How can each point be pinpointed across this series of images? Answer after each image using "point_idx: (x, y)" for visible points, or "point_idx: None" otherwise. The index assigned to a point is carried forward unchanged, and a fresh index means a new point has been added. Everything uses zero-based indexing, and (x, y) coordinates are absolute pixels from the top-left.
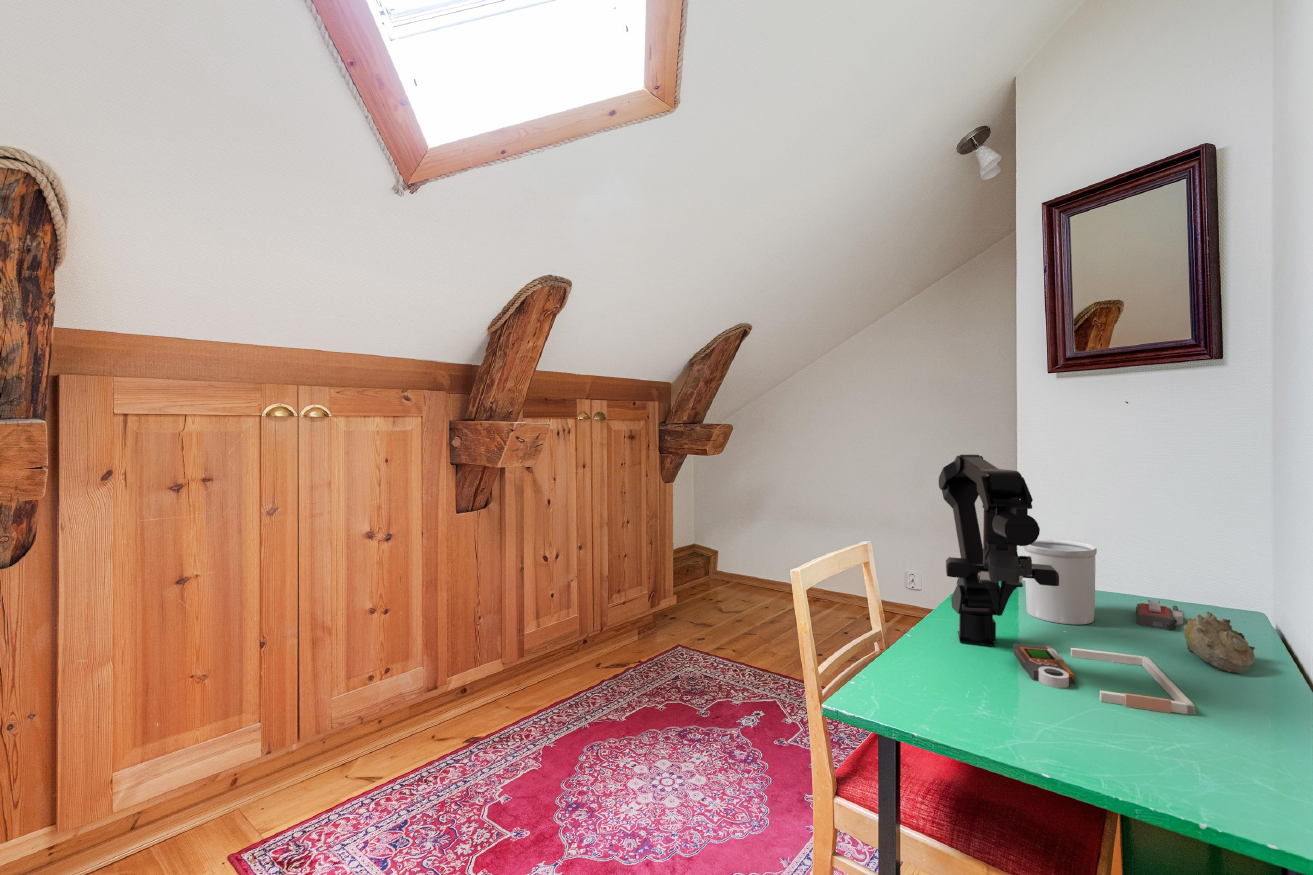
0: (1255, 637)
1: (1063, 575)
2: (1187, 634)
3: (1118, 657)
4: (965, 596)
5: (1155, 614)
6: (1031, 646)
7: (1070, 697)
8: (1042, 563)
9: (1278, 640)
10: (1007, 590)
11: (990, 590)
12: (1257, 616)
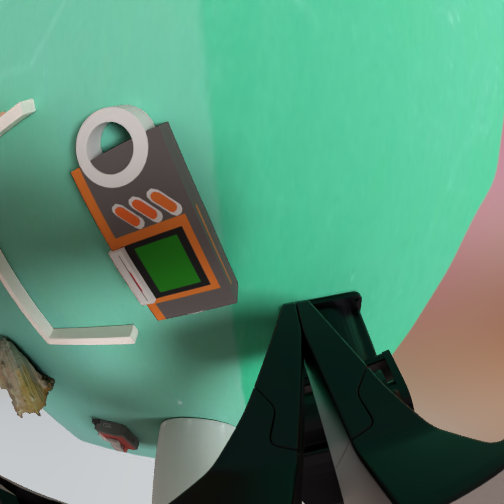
0: (53, 410)
1: (183, 484)
2: (24, 385)
3: (72, 335)
4: (399, 394)
5: (109, 435)
6: (193, 303)
7: (80, 67)
8: None
9: None
10: (261, 466)
11: (406, 421)
12: (78, 436)
